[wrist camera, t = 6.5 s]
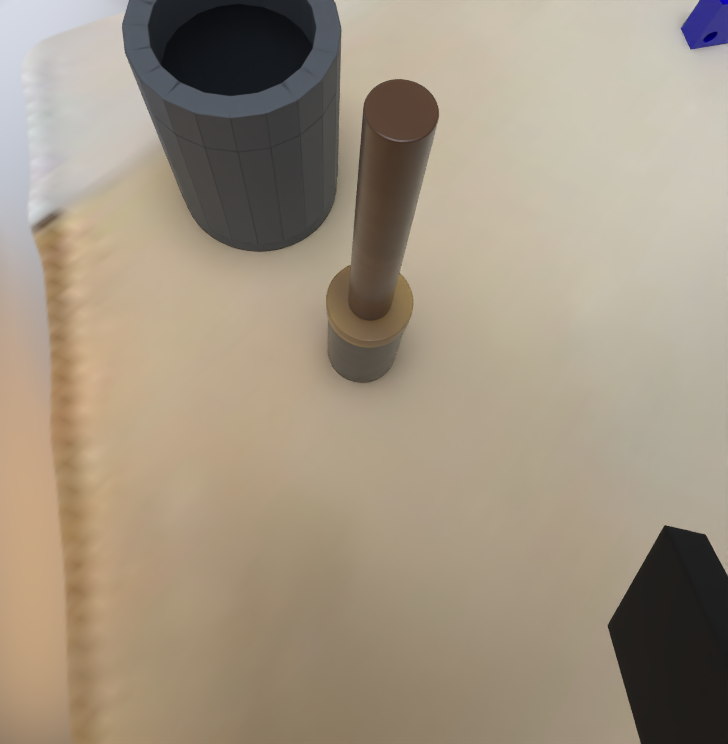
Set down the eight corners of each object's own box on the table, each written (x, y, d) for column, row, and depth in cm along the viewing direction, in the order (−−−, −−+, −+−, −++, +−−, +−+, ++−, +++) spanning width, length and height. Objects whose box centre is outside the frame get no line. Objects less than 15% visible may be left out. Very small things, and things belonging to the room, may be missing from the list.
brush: (359, 304, 40) (395, 23, 19) (410, 349, 39) (507, 110, 18) (311, 351, 39) (293, 109, 18) (363, 398, 38) (407, 204, 17)
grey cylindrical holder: (261, 94, 44) (235, -88, 32) (367, 182, 43) (384, 28, 30) (151, 183, 42) (76, 23, 29) (259, 281, 40) (229, 156, 28)
